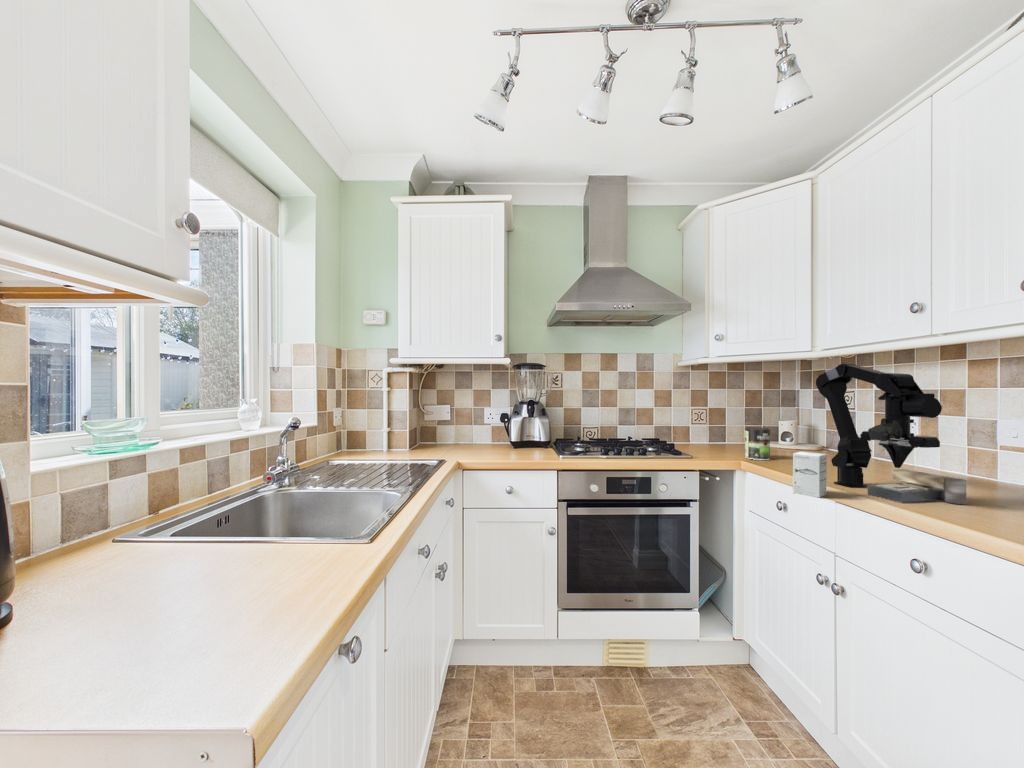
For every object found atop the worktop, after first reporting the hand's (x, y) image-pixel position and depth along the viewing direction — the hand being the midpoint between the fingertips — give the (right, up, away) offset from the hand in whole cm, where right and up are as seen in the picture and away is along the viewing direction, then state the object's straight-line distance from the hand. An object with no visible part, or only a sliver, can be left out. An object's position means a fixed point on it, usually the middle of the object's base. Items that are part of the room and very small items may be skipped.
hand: (897, 467), depth 133 cm
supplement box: (-23, -9, +4) cm, 26 cm away
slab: (+5, -9, +1) cm, 10 cm away
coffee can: (-2, -10, +72) cm, 73 cm away
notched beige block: (+10, -9, +1) cm, 13 cm away
